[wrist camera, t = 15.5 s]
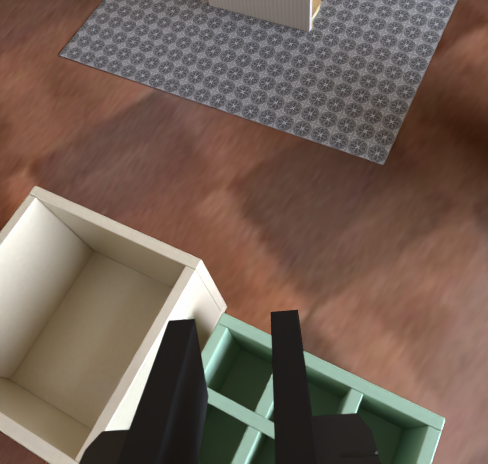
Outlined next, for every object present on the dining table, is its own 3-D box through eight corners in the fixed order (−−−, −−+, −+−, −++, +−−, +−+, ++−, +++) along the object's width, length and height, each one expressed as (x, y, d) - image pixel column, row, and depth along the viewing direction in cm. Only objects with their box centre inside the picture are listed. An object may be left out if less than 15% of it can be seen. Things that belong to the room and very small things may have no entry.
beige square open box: (142, 471, 31) (76, 481, 22) (4, 385, 34) (-100, 364, 25) (227, 306, 35) (202, 259, 26) (96, 245, 38) (34, 184, 29)
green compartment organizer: (364, 570, 27) (385, 611, 20) (177, 458, 31) (143, 462, 24) (414, 424, 30) (446, 418, 23) (238, 337, 34) (222, 311, 27)
